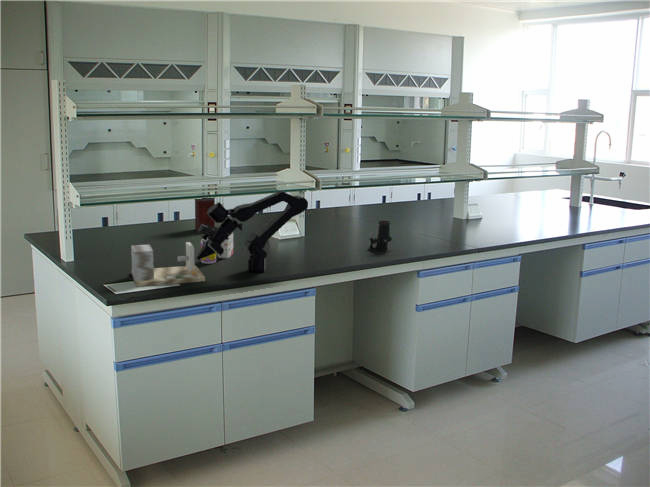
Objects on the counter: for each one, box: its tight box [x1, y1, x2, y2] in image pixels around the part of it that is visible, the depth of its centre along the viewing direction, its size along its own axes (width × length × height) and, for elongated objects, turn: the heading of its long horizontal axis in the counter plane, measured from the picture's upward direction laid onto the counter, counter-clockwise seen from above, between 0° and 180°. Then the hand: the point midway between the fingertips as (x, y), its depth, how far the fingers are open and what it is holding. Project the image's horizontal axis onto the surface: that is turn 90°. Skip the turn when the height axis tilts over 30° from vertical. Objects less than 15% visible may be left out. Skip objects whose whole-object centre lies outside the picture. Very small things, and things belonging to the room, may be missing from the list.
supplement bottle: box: [200, 238, 217, 265], centre depth 280 cm, size 7×7×13 cm
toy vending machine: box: [194, 197, 216, 234], centre depth 342 cm, size 9×11×28 cm
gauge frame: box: [130, 244, 206, 287], centre depth 256 cm, size 26×19×12 cm
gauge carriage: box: [177, 241, 196, 275], centre depth 256 cm, size 6×13×11 cm, turn 22°
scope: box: [368, 220, 393, 252], centre depth 313 cm, size 8×14×10 cm
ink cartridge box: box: [217, 232, 234, 259], centre depth 291 cm, size 9×5×15 cm, turn 170°
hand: (197, 258), depth 260 cm, fingers closed
